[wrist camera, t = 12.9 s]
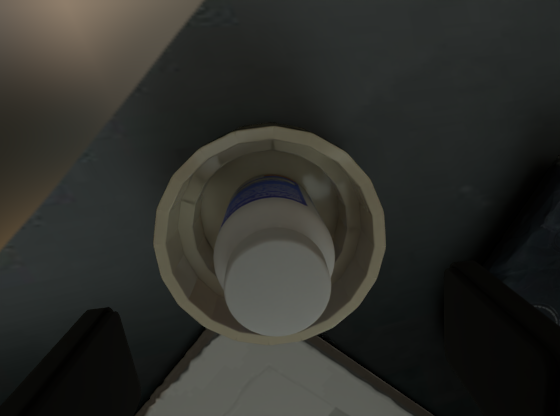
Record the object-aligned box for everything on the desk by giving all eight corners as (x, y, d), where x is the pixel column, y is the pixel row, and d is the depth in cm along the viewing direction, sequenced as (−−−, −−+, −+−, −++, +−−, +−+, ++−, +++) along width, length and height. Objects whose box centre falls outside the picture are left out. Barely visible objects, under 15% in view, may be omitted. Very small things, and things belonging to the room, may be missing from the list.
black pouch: (510, 148, 24) (417, 345, 25) (599, 150, 19) (476, 400, 20) (601, 196, 26) (512, 374, 28) (703, 211, 21) (587, 430, 22)
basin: (165, 135, 22) (128, 145, 16) (348, 110, 22) (379, 111, 16) (200, 299, 25) (180, 358, 19) (361, 277, 25) (391, 329, 19)
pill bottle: (210, 217, 22) (168, 295, 13) (269, 153, 21) (271, 187, 12) (273, 271, 23) (278, 379, 14) (332, 212, 22) (380, 286, 13)
